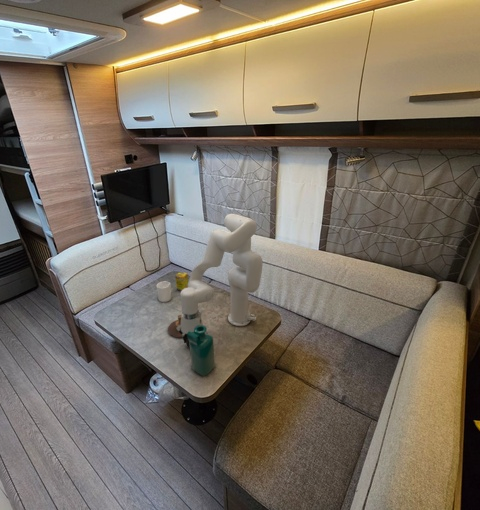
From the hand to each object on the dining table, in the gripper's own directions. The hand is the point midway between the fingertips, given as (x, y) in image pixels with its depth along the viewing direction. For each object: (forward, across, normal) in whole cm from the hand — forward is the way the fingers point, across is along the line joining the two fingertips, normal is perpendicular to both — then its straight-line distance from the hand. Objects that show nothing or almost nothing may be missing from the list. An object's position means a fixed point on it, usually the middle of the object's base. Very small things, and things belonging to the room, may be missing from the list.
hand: (193, 342), depth 137 cm
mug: (+2, +33, -36) cm, 49 cm away
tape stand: (+2, +11, -10) cm, 15 cm away
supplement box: (+2, +27, -48) cm, 55 cm away
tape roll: (0, 0, 0) cm, 0 cm away
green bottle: (+2, -9, +12) cm, 15 cm away
